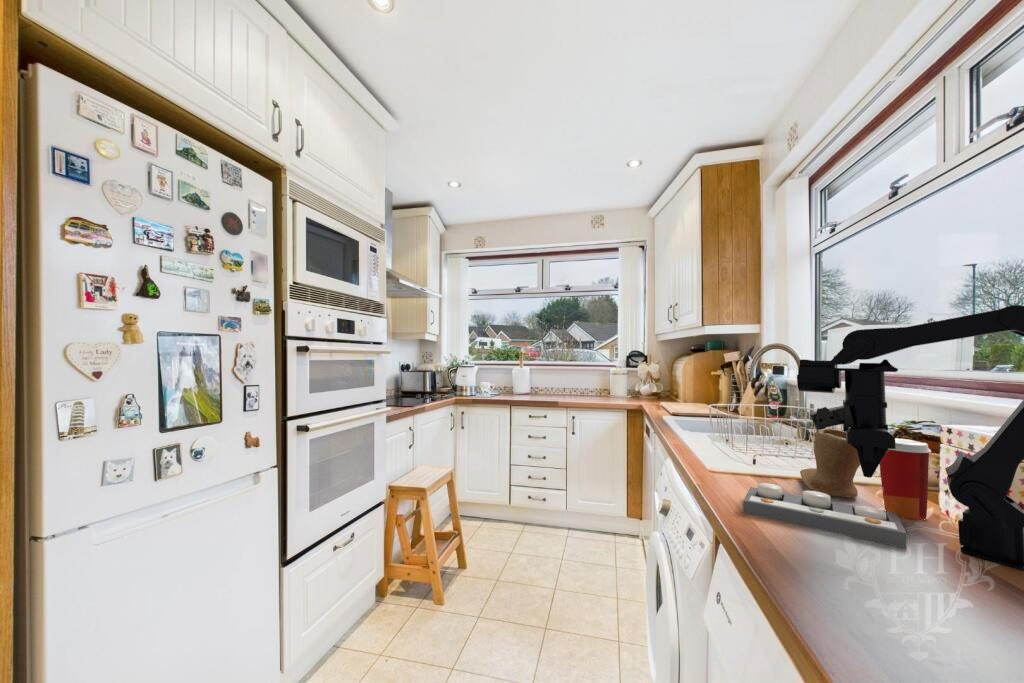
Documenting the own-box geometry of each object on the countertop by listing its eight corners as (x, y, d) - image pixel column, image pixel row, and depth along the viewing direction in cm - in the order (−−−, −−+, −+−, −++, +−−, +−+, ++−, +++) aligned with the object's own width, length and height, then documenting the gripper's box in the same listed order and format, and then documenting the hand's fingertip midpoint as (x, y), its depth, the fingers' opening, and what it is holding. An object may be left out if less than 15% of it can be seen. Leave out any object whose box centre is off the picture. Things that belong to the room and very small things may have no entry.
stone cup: (874, 506, 84) (872, 436, 85) (806, 496, 90) (804, 431, 91) (858, 486, 97) (855, 426, 98) (799, 479, 103) (797, 422, 104)
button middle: (830, 503, 79) (830, 493, 79) (830, 510, 75) (830, 499, 75) (803, 498, 81) (803, 489, 82) (802, 505, 78) (802, 494, 78)
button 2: (885, 520, 74) (884, 509, 74) (888, 528, 70) (887, 516, 70) (854, 514, 76) (853, 504, 77) (855, 521, 73) (855, 510, 73)
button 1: (782, 495, 84) (782, 485, 84) (781, 500, 80) (780, 491, 80) (758, 490, 86) (758, 481, 87) (756, 496, 83) (756, 486, 83)
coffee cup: (908, 507, 83) (905, 437, 84) (947, 523, 75) (943, 446, 76) (866, 506, 84) (863, 436, 85) (900, 522, 76) (897, 445, 77)
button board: (897, 526, 74) (896, 510, 74) (907, 548, 65) (906, 530, 65) (750, 498, 89) (750, 485, 89) (743, 512, 80) (743, 498, 80)
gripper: (812, 389, 87) (814, 459, 86) (811, 395, 72) (813, 480, 72) (880, 392, 80) (883, 469, 79) (894, 400, 65) (897, 493, 65)
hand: (867, 476), depth 74 cm, fingers closed
